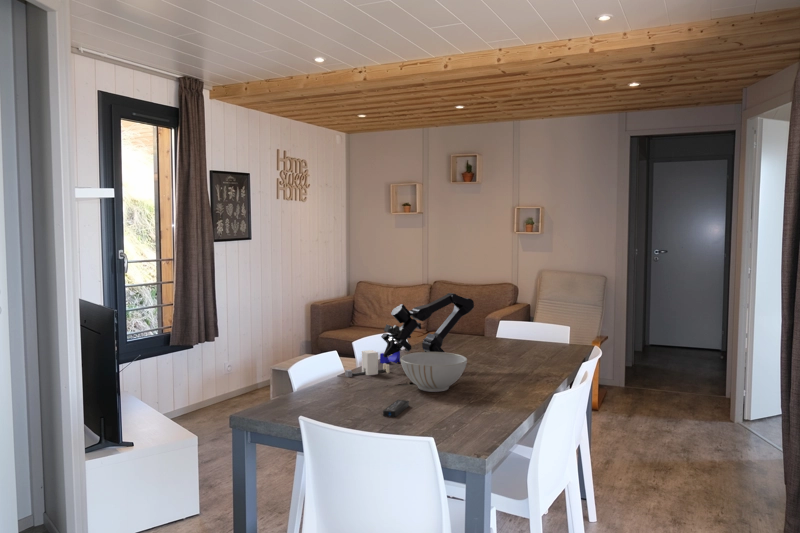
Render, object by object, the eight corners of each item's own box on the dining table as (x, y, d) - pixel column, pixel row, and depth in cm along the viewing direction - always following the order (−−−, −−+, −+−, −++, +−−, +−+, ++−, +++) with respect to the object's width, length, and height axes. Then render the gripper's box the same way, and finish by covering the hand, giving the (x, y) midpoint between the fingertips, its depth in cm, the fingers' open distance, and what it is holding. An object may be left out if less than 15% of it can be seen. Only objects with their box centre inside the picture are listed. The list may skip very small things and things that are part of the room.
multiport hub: (409, 407, 218) (409, 400, 218) (394, 418, 205) (394, 411, 205) (397, 405, 220) (397, 399, 220) (382, 417, 206) (382, 410, 206)
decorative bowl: (410, 399, 227) (411, 367, 227) (392, 382, 253) (392, 353, 253) (477, 394, 235) (477, 363, 234) (453, 378, 260) (453, 350, 260)
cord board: (382, 372, 271) (383, 361, 271) (393, 376, 262) (393, 366, 262) (341, 377, 261) (341, 366, 261) (351, 382, 253) (351, 371, 252)
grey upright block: (372, 371, 266) (372, 350, 265) (377, 374, 261) (377, 352, 261) (361, 372, 264) (361, 351, 263) (367, 375, 259) (367, 353, 258)
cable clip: (392, 361, 295) (392, 349, 294) (399, 362, 292) (399, 350, 292) (377, 365, 285) (377, 353, 284) (385, 367, 282) (385, 354, 282)
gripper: (385, 315, 275) (363, 341, 270) (405, 320, 259) (382, 348, 254) (400, 331, 279) (378, 357, 275) (421, 337, 263) (398, 365, 258)
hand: (384, 356), depth 265 cm, fingers closed
